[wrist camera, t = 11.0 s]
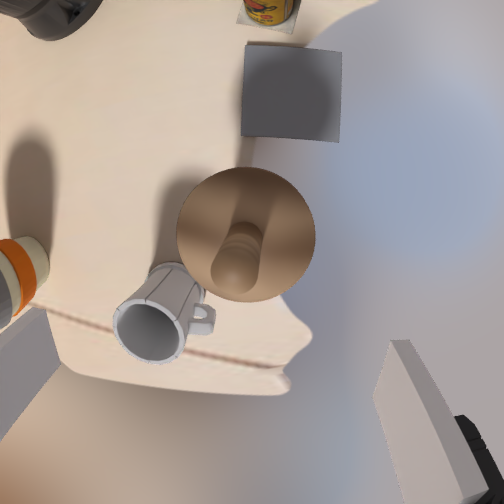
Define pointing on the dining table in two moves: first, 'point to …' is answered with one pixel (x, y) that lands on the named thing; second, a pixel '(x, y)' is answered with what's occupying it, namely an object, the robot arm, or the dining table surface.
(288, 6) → the condiment
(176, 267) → the cup
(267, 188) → the lid
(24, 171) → the dining table surface
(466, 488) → the robot arm
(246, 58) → the mat
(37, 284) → the reusable coffee cup
